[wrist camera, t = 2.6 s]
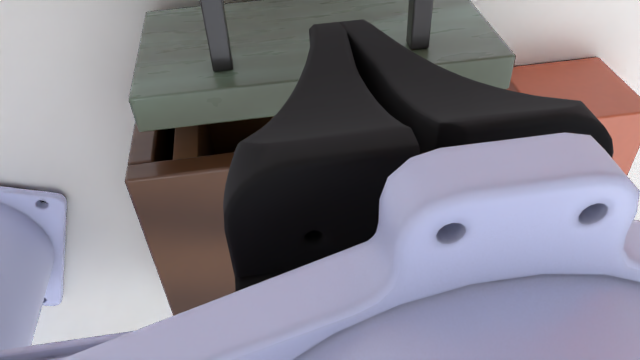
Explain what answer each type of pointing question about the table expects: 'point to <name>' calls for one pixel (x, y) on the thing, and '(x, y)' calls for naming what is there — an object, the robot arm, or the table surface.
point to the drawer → (281, 59)
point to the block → (589, 98)
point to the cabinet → (182, 218)
